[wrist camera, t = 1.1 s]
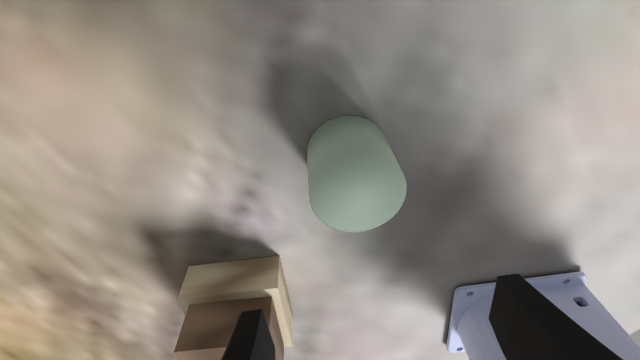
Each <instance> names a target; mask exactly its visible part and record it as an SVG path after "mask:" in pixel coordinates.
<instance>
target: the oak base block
mask: <svg viewBox="0 0 640 360" xmlns="http://www.w3.org/2000/svg"><path fill="white" fill-rule="evenodd" d="M271 296H272V299H273V303H274V307H275V311H276V315H277V319H278V323H279V327H280V331H281V335H282V339H283V343H284V347H292V326H293V312H292V308H291V303H290V299H289V295H288V290H287V286H286V282H285V277H284V273H283V268H282V264H281V260H280V255H279V256H270V257H262V258H254V259H245V260H237V261H229V262H220V263H212V264H203V265H195V266H189V267H188V270H187V273H186V275H185V278H184V281H183V284H182V287H181V290H180V293H179V296H178V298H177V300H178V302H179V304H180V306H181V308H182V310H183V312H184V314H185V316H186V313H187V310H188V307H189V305H190V304H200V303H210V302H220V301H230V300H240V299H250V298H261V297H271Z"/></svg>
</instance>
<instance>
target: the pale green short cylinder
mask: <svg viewBox="0 0 640 360" xmlns="http://www.w3.org/2000/svg"><path fill="white" fill-rule="evenodd" d="M307 165H308V180H309V195H310V203H311V207H312V209H313V211H314V213H315V215H316V216H317V217H318V218H319V219H320V220H321V221H322V222H323V223H324V224H326V225H327V226H329V227H331V228H334V229H336V230H340V231H345V232H362V231H367V230H371V229H374V228H376V227H379V226H381V225H382V224H384V223H386V222H387V221H389V220H390V219H391V218H392V217H393V216H394V215H395V214H396V213H397V212H398V211H399V209H400V208H401V206H402V205H403V202H404V200H405V197H406V192H407V183H406V179H405V176H404V174H403V172H402V170H401V168H400V166H399V164H398V162H397V160H396V158H395V156H394V154H393V152H392V150H391V148H390V146H389V144H388V142H387V140H386V138H385V136H384V134H383V132H382V131H381V129H380V128H379V127H378V126H377V125H376V124H375V123H373V122H372V121H370V120H368V119H366V118H363V117H360V116H354V115H346V116H340V117H336V118H333V119H331V120H329V121H327V122H325V123H324V124H322V125H321V126H320V127H319V128H318V129H317V130H316V131H315V132H314V134H313V135H312V137H311V139H310V141H309V143H308V147H307Z"/></svg>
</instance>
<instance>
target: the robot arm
mask: <svg viewBox="0 0 640 360" xmlns="http://www.w3.org/2000/svg"><path fill="white" fill-rule="evenodd" d="M586 280H587V276H586V275H585V274H584V273H583V272H572V273H564V274H556V275H548V276H540V277H532V278H523V277H521V276H520V275H519V274H511V275H504V276H497V281H496V282H493V283H485V284H477V285H469V286H461V287H458V288H457V289H456V290H455V292H454V298H453V305H452V312H451V319H450V325H449V332H448V339H447V346H446V347H447V350H448V352H450V353H457V352H465V351H466V353H467V355H468V357H469V360H640V347H639V346H638V345H637V344H636V343H635V341H634V340H633V339H632V338H631V337H630V336H629V335H628V334H627V332H626V331H625V330H624V329H623V328H622V327H621V326H620V324H619V323H618V322H617V321H616V320H615V319H614V318H613V317H612V315H611V314H610V313H609V312H608V311H607V310H606V309H605V307H604V306H603V305H602V304H601V303H600V302H599V301H598V300H597V298H596V297H595V296H594V295H593V294H592V293H591V292H590V290H589V289H588V288H587V287H586V286H585V285H584V284H585V282H586ZM221 360H275V345H274V342H273V339H272V337H271V334H270V331H269V328H268V325H267V322H266V319H265V316H264V314H263V311H262V309H258V310H250V311H243V312H241V313H240V315H239V317H238V320H237V323H236V325H235V328H234V330H233V333H232V335H231V338H230V340H229V343H228V345H227V347H226V350H225V352H224V354H223V357H222V359H221Z"/></svg>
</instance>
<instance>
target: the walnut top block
mask: <svg viewBox="0 0 640 360" xmlns="http://www.w3.org/2000/svg"><path fill="white" fill-rule="evenodd" d="M258 309H262V311H263V314H264V316H265V319H266V322H267V325H268V328H269V331H270V334H271V337H272V339H273V342H274V345H275V360H283V357H284V343H283V339H282V335H281V331H280V327H279V323H278V319H277V315H276V311H275V307H274V303H273V299H272V296H271V297H261V298H250V299H240V300H230V301H220V302H210V303H200V304H190V305H189V307H188V310H187V313H186V316H185V319H184V323H183V326H182V329H181V332H180V335H179V338H178V341H177V345H176V348H175V351H174V353H175V355H176V356H177V358H178V360H221V359H222V357H223V354H224V352H225V350H226V347H227V345H228V343H229V340H230V338H231V335H232V333H233V330H234V328H235V325H236V323H237V320H238V317H239V315H240V313H241V312H243V311H250V310H258Z"/></svg>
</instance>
